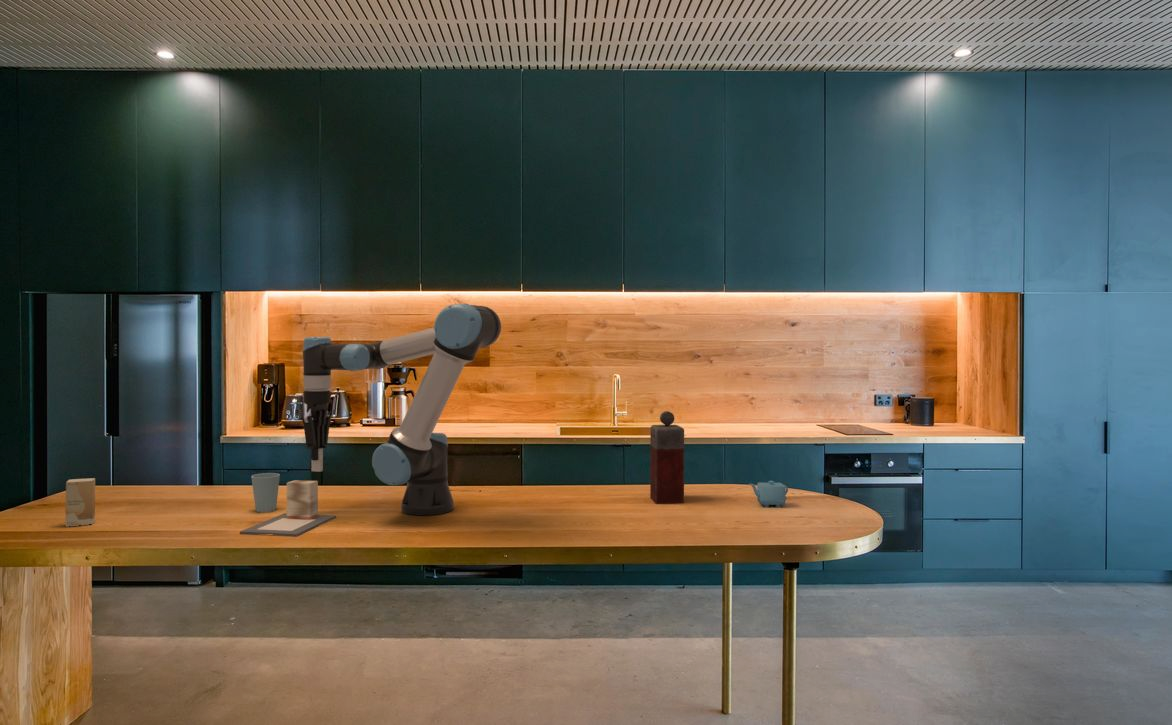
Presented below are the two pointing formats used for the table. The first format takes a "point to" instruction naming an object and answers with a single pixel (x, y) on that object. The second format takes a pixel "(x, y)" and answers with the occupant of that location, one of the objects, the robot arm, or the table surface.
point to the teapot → (770, 493)
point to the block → (302, 499)
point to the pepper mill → (667, 461)
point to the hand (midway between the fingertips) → (317, 470)
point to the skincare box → (80, 502)
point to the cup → (265, 491)
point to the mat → (287, 525)
